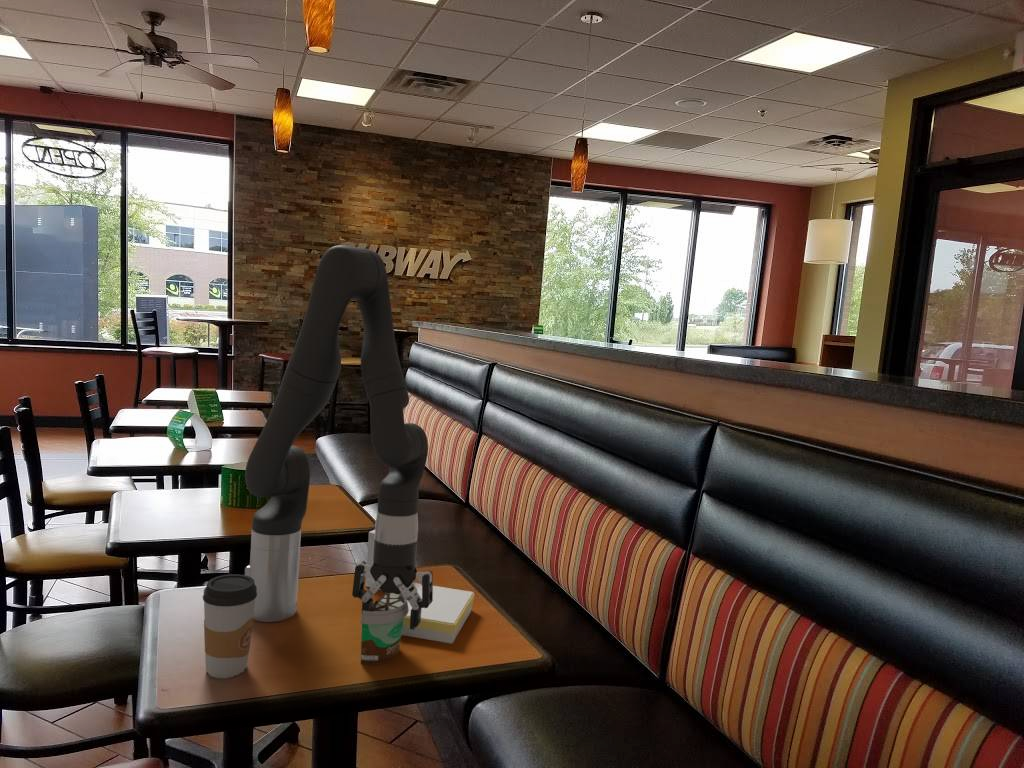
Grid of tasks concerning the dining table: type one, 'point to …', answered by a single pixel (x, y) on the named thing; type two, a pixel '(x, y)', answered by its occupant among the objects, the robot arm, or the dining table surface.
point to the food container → (383, 629)
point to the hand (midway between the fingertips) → (390, 624)
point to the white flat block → (441, 615)
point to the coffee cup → (228, 623)
